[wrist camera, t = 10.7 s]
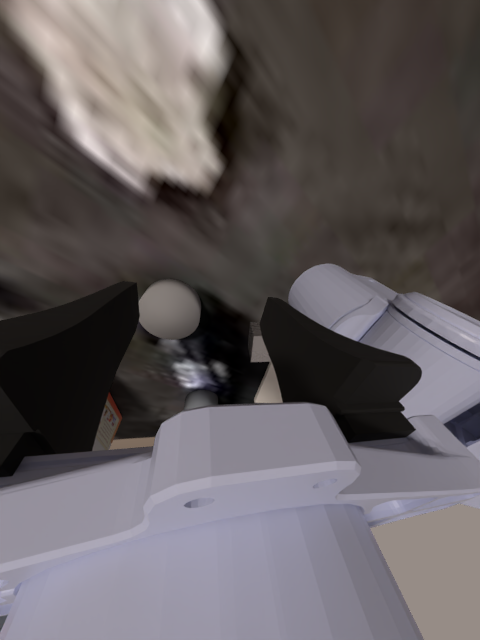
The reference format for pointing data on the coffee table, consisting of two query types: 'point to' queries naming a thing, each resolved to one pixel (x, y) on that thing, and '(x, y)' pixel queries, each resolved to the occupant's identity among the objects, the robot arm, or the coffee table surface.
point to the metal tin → (257, 344)
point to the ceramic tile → (269, 388)
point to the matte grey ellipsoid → (170, 309)
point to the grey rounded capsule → (200, 399)
